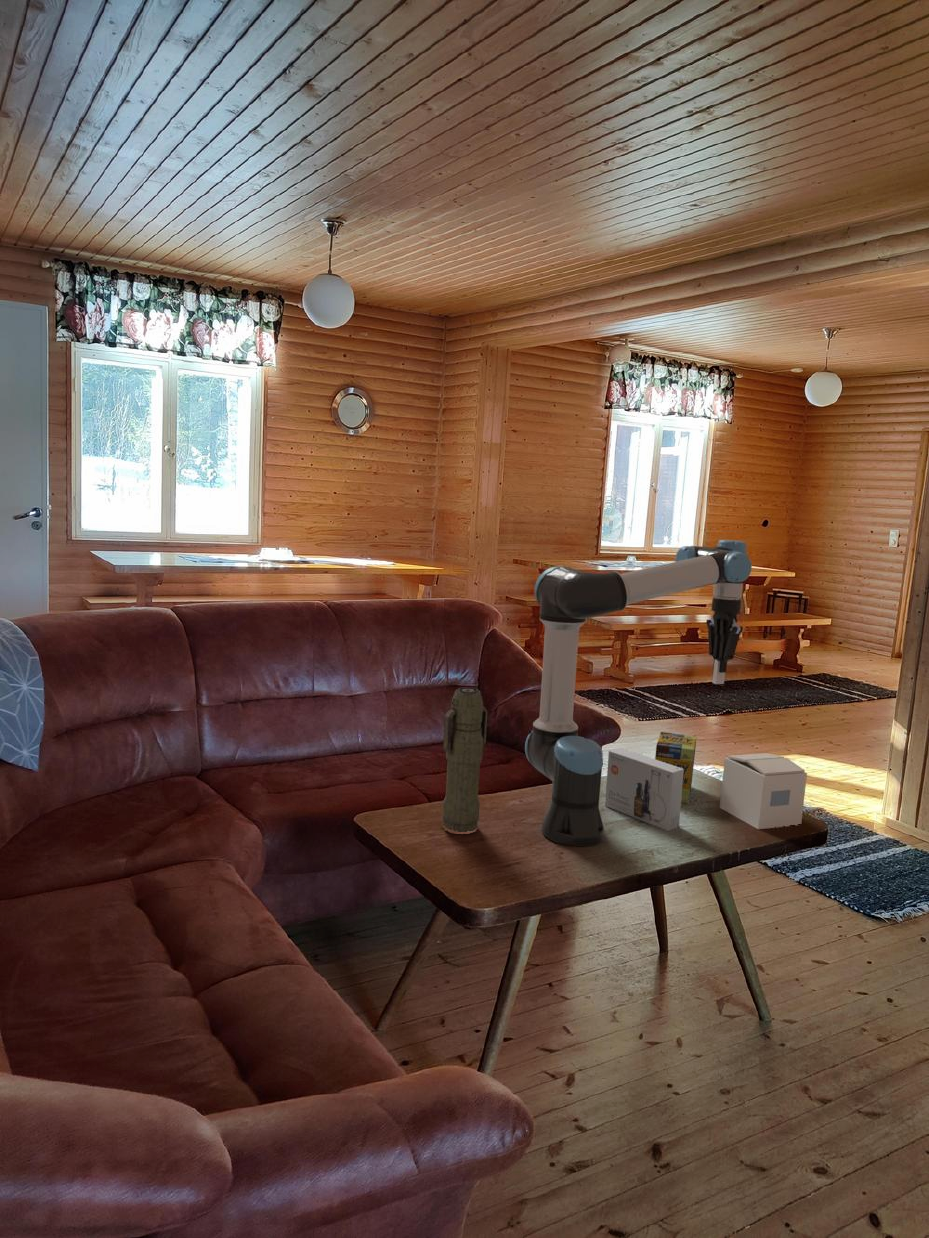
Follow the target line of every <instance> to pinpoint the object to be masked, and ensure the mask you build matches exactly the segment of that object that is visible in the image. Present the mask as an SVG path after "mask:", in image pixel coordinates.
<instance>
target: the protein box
mask: <svg viewBox="0 0 929 1238" xmlns="http://www.w3.org/2000/svg"><path fill="white" fill-rule="evenodd" d="M696 745H697V736H692V735H684V734H678V733H674V732H673V733H672V732H666V731H660V734H659V737H658V740H657V742H656V746H655V755H654V759H655V760H658V761H661V762H664V763H667V764H670V765H673V766H676V767H679V768H682V769H684V773H683V783H682V799H681V803H686V804H688V803H690V797H691V791H692V783H693V775H694V774H693V773H694V764H695V755H696V747H697V746H696Z"/></svg>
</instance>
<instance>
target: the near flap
mask: <svg viewBox="0 0 929 1238" xmlns="http://www.w3.org/2000/svg"><path fill="white" fill-rule="evenodd" d="M747 763H748V764H750V765H751V766H752V767H754V768H755V769H756V770H758V771H759V772H760V773H762V774H763V775H776V774H789V773H801V772H805V771H806V770H805V769H804V768H802V767H801V766H800V765H798V764H796V763H795V762H794V761H792V760H791V759H790V758H787V757H784V758H775V759H761V760H747Z"/></svg>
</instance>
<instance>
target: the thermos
mask: <svg viewBox="0 0 929 1238" xmlns="http://www.w3.org/2000/svg"><path fill="white" fill-rule="evenodd" d="M450 707H451V708H450V710H448V711H447V712H446V714H445V715H444V728H443V742H442V743H443V744H442V745H443V746H442V749H443V750H444V751H445V759H446V761H447V767H446V784H445V785H446V788H445V789H446V791H445V797H444V799H443V801H442V815H441V816H442V826H443V825H444V826H445V827H446V828H448V829H450V830H454V831H458V832H467V831H473V830H475V829H476V828H477V827H478V821H479V819H480V805H481V804H480V801H479V786H480V785H479V783H480V771H481V770H480V768H481V763H482V761H483V752H484V748H486V744H487V743H486V742H487V731H488V730H487V729H488V728H487V727H488V714H489V712H488V710H487V708H486V706H484V701H483V696H482V692H481V691H480V690H479V689H477V688H473V687H459V688H458V689H456V690H455V691H454V694H453V696H452V699H451V706H450ZM477 829H478V828H477Z"/></svg>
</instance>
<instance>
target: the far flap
mask: <svg viewBox="0 0 929 1238" xmlns="http://www.w3.org/2000/svg"><path fill="white" fill-rule="evenodd" d="M727 758H730V759H734V760H738V761H743V762H747V760H761V759H775V758H785V756H781V755H777V754H772V753H767V752H764V753H748V754H732V755H727Z"/></svg>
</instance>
